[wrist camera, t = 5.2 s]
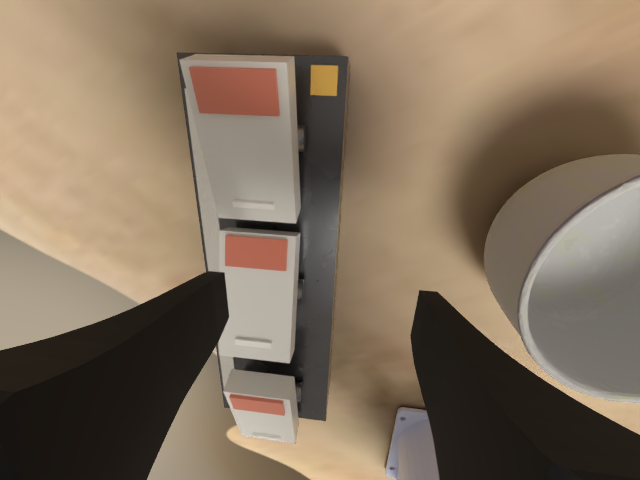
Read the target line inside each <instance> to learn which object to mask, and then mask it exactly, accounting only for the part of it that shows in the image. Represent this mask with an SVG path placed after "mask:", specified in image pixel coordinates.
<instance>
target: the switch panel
mask: <svg viewBox="0 0 640 480" xmlns="http://www.w3.org/2000/svg"><path fill="white" fill-rule="evenodd" d="M194 54H213V53H177V58H178V65H179V73H180V80H181V88H182V95H183V103H184V110H185V117H186V125H187V132H188V140H189V147H190V155H191V162H192V170H193V177H194V184H195V192H196V199H197V207H198V214H199V222H200V229H201V237H202V244H203V251H204V259H205V266H206V272H208V271H213V272H219V230H222V229H226V228H229V227H235V228H248V229H261V230H274V231H287V232H300V251H299V271H298V291H297V310H296V330H295V350H294V353H293V356H292V358H291V361H290V363H282V362H273V361H265V360H256V359H248V358H239V357H231V356H222V355H219V341H218V343H217V345H216V348H217V356H218V363H219V370H220V378H221V385H222V392H223V391H224V388H225V385H226V382H227V380H228V377H229V374H230V371H231V369H236V370H244V371H252V372H260V373H269V374H277V375H285V376H293V377H294V378H295V388H296V398H297V408H298V417H299V418H307V419H314V420H322V421H326V414H327V404H328V395H329V385H330V371H331V356H332V340H333V325H334V309H335V294H336V278H337V263H338V248H339V232H340V217H341V201H342V186H343V171H344V155H345V140H346V124H347V109H348V93H349V78H350V62H349V58H348V57H345V56H301V55H262V56H294V61H295V84H296V107H297V131H298V154H299V177H300V200H301V209H300V213H299V216H298V219H297V222H296V224H295V223H282V222H268V221H255V220H241V219H228V218H219V217H218V213H217V209H216V205H215V201H214V197H213V193H212V189H211V185H210V181H209V177H208V173H207V169H206V165H205V161H204V157H203V153H202V149H201V145H200V141H199V137H198V133H197V129H196V125H195V121H194V117H193V113H192V109H191V105H190V101H189V97H188V93H187V89H186V85H185V81H184V77H183V73H182V69H181V65H180V61H179V60H180V59H183V58H186V57H189V56H192V55H194ZM218 55H257V54H218ZM223 400H224V407H225V408H230V406H229V404H228V402H227V399H226V397H225V395H224V392H223Z"/></svg>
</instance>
